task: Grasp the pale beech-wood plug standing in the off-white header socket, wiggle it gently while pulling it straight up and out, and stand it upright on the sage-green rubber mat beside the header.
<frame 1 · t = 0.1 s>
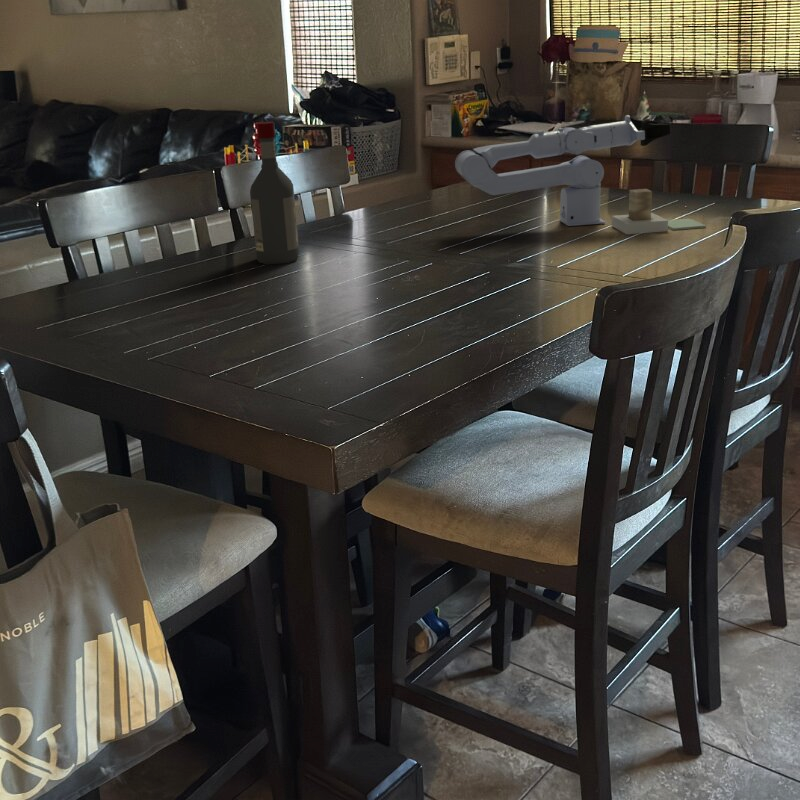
hand: (663, 127, 239), 22 cm above the table, tool horizontal, fingers open, 7 cm apart
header: (639, 228, 235), on the table
mat: (681, 225, 236), on the table
plug: (640, 209, 233), in the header
liquor: (278, 260, 224), on the table
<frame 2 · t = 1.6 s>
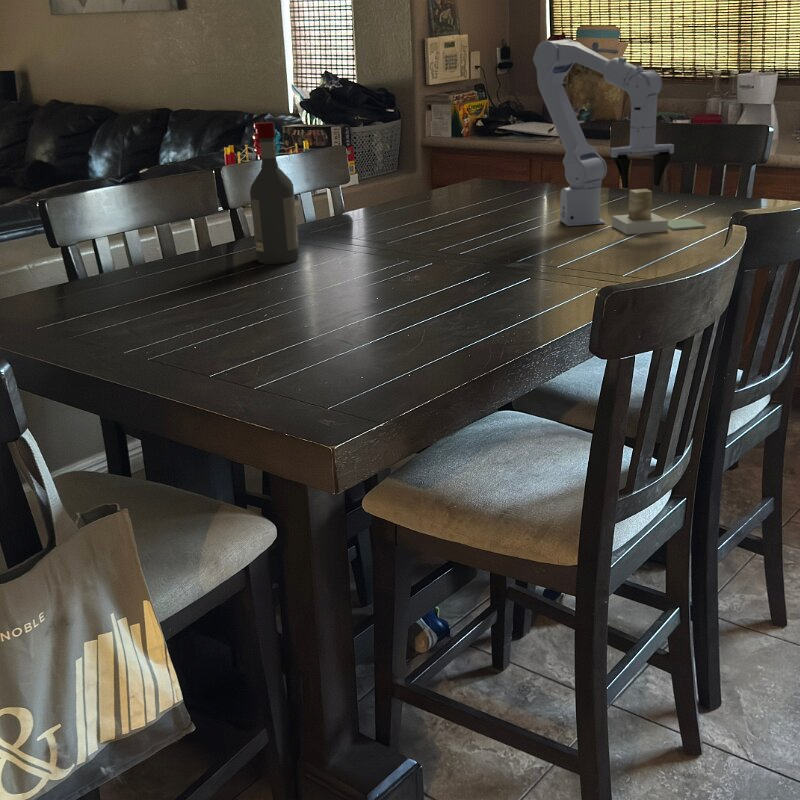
hand: (640, 186, 231), 10 cm above the table, tool pointing down, fingers open, 7 cm apart
nothing on the table moved.
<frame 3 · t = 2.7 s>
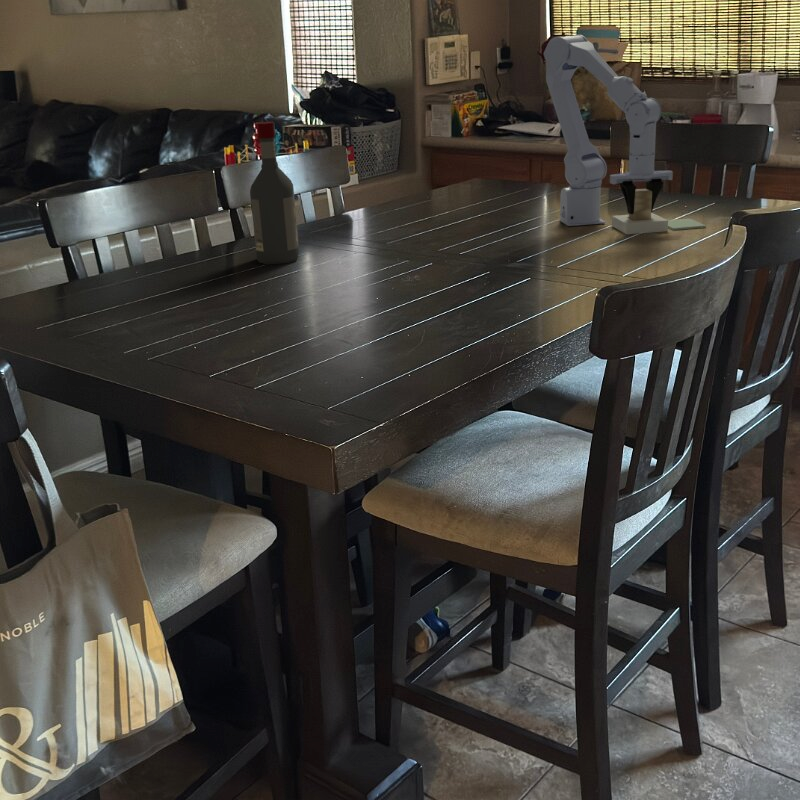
hand: (639, 212, 234), 4 cm above the table, tool pointing down, fingers closed on plug, 4 cm apart
plug: (640, 209, 233), in the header, touching gripper
everything else where it was.
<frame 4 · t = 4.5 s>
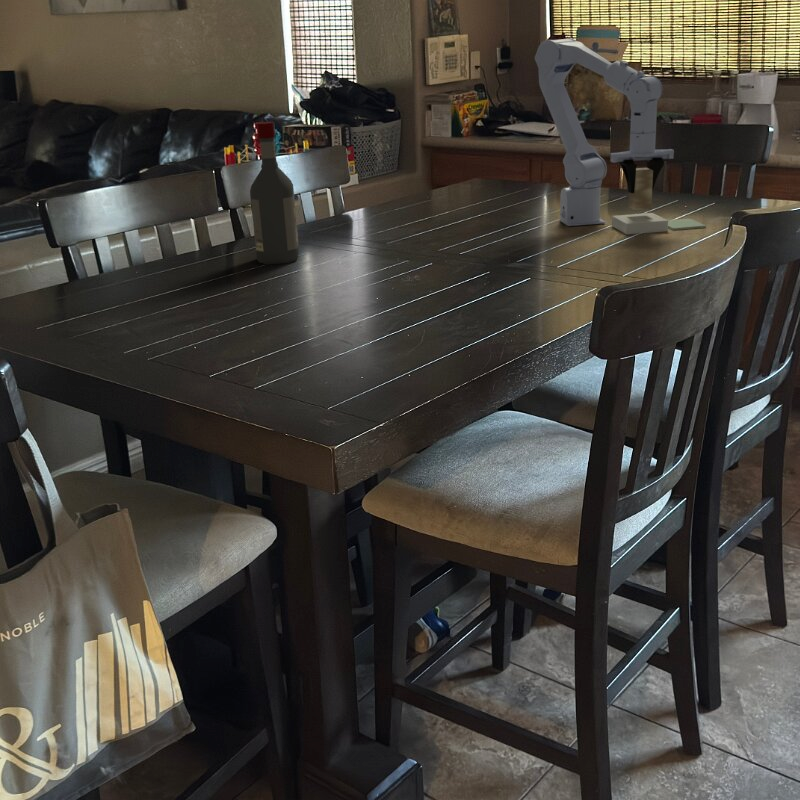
hand: (640, 191, 232), 9 cm above the table, tool pointing down, fingers closed on plug, 4 cm apart
plug: (640, 188, 232), point 9 cm above the table, touching gripper
everything else where it was.
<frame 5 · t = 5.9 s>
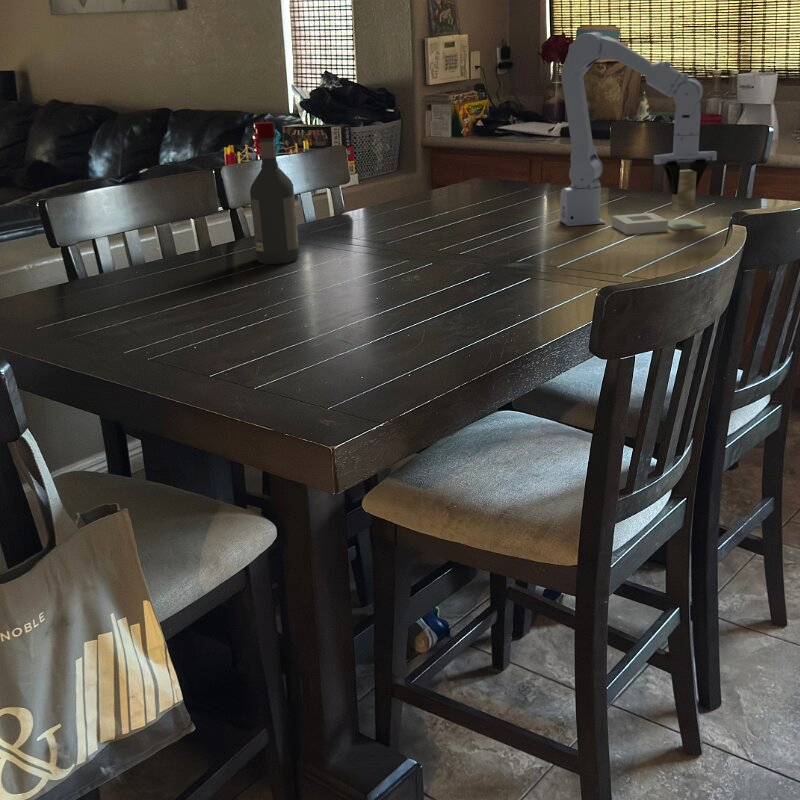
hand: (683, 193, 233), 8 cm above the table, tool pointing down, fingers closed on plug, 4 cm apart
plug: (683, 190, 233), point 8 cm above the table, touching gripper
everything else where it was.
when the fingers open (6 cm above the table, at t = 6.6 s): plug drops 1 cm, resting on mat.
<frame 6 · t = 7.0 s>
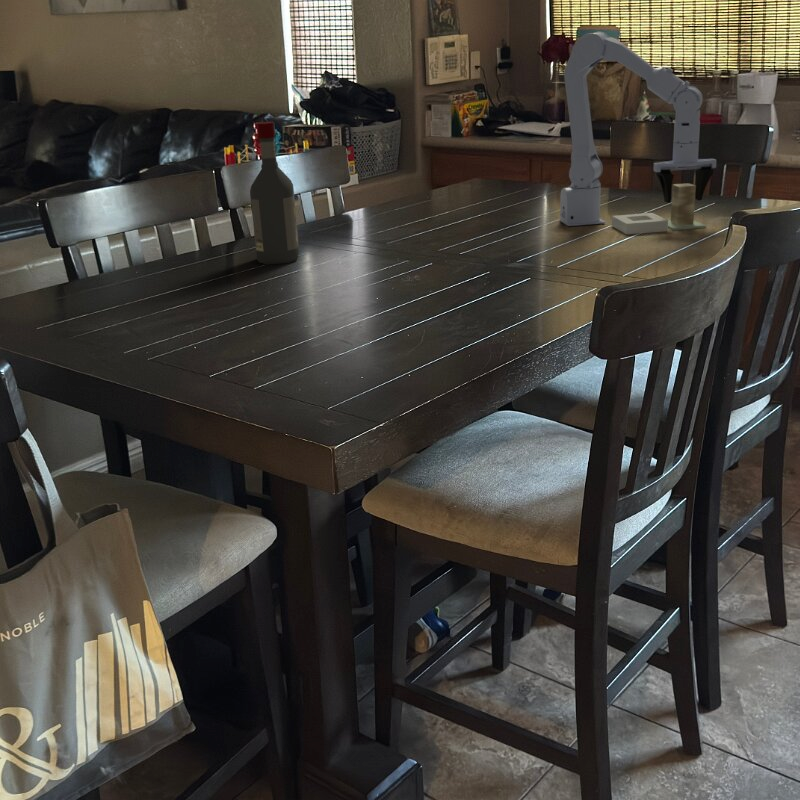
hand: (683, 200, 234), 6 cm above the table, tool pointing down, fingers open, 7 cm apart
plug: (683, 204, 234), on the mat
everything else where it was.
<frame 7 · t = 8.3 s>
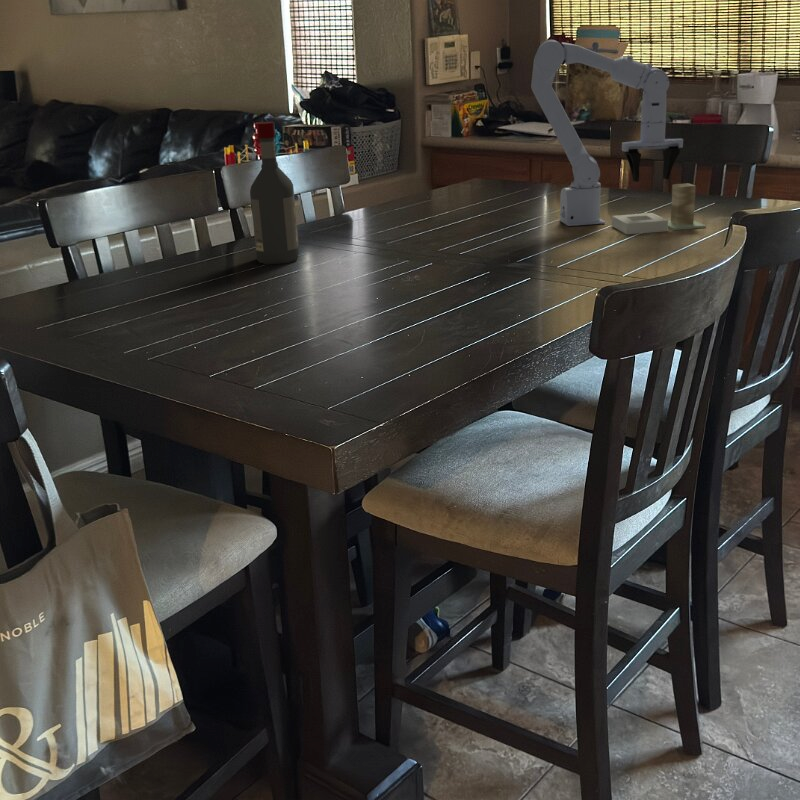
hand: (650, 179, 239), 10 cm above the table, tool pointing down, fingers open, 7 cm apart
nothing on the table moved.
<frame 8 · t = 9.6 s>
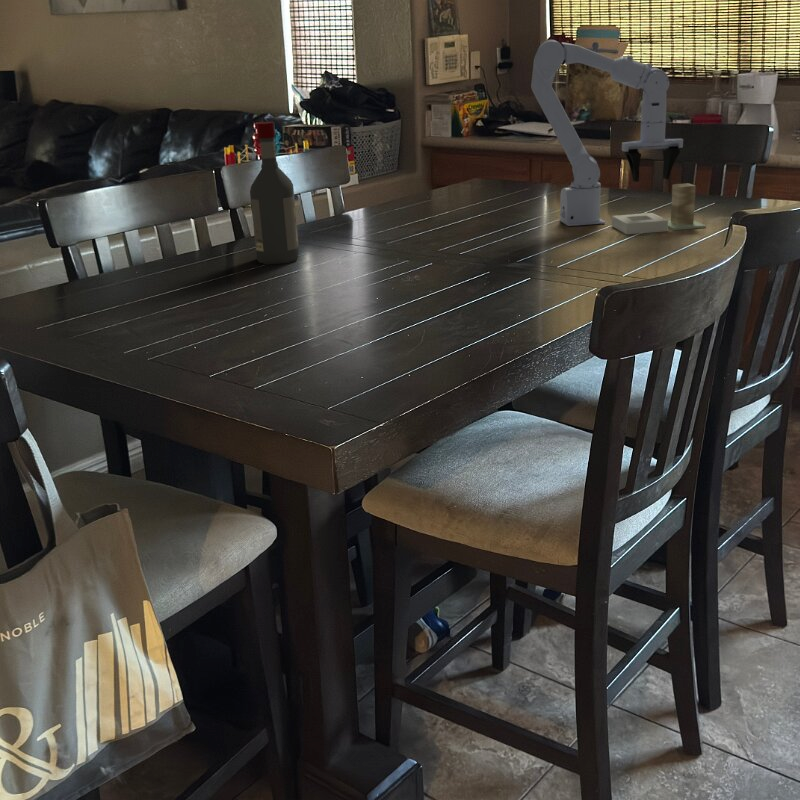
hand: (650, 179, 239), 10 cm above the table, tool pointing down, fingers open, 7 cm apart
nothing on the table moved.
at the end: plug 0.1 cm off-centre on the mat, point 5.0 cm above the mat's base; plug tilted 0°; the gripper is holding nothing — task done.
